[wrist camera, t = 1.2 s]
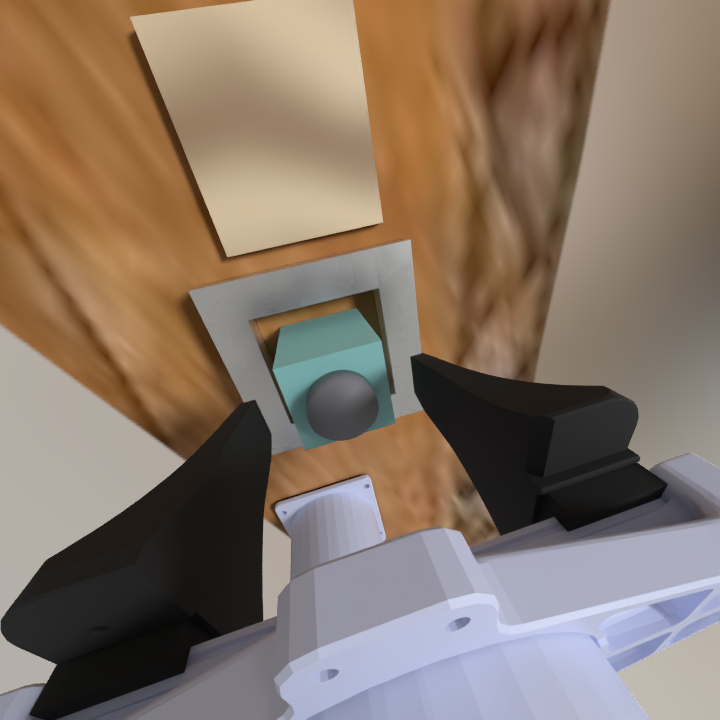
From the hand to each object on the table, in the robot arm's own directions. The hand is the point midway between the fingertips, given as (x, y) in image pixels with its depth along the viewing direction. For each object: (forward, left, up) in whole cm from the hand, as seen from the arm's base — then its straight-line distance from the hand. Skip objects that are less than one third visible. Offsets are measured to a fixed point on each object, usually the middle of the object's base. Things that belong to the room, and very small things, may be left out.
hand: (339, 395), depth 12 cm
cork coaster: (+10, 0, -5) cm, 12 cm away
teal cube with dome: (0, 0, -5) cm, 5 cm away
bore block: (0, 0, -5) cm, 5 cm away
